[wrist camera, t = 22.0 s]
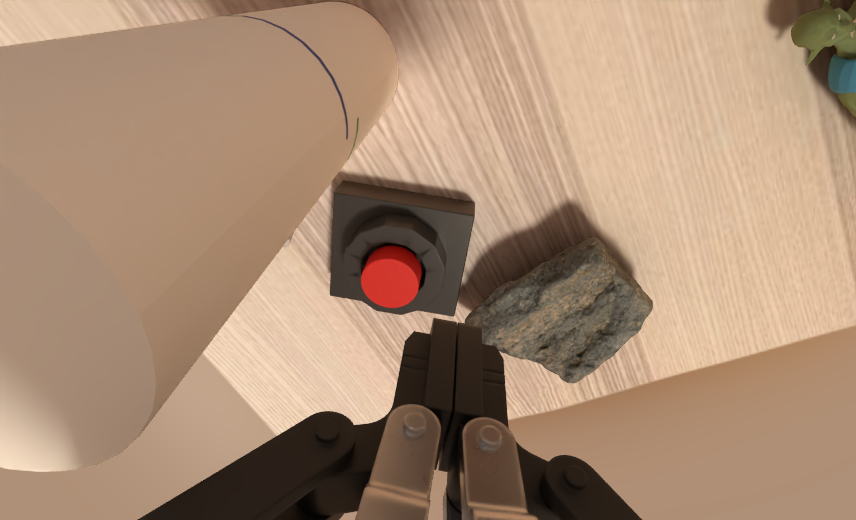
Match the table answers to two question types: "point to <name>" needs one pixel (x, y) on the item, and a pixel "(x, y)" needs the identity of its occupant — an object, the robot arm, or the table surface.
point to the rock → (565, 311)
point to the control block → (400, 242)
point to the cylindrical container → (158, 203)
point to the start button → (391, 276)
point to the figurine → (848, 31)
